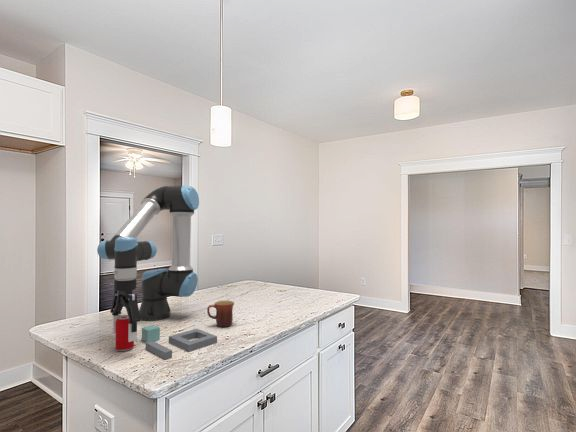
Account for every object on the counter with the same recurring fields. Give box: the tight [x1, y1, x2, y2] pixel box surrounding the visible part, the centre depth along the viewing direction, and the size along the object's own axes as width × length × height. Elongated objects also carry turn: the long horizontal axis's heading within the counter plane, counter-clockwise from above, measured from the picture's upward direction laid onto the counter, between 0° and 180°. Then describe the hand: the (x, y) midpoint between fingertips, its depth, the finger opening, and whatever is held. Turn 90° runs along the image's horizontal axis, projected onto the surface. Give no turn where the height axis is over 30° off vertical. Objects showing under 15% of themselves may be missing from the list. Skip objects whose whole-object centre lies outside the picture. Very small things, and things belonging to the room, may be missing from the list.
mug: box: [206, 300, 235, 328], centre depth 154 cm, size 12×9×10 cm
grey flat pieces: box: [145, 328, 218, 360], centre depth 129 cm, size 14×22×2 cm, turn 139°
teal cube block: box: [141, 324, 161, 343], centre depth 135 cm, size 5×5×5 cm
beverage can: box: [114, 314, 135, 352], centre depth 126 cm, size 6×6×12 cm
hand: (124, 336), depth 125 cm, fingers open, 13 cm apart
